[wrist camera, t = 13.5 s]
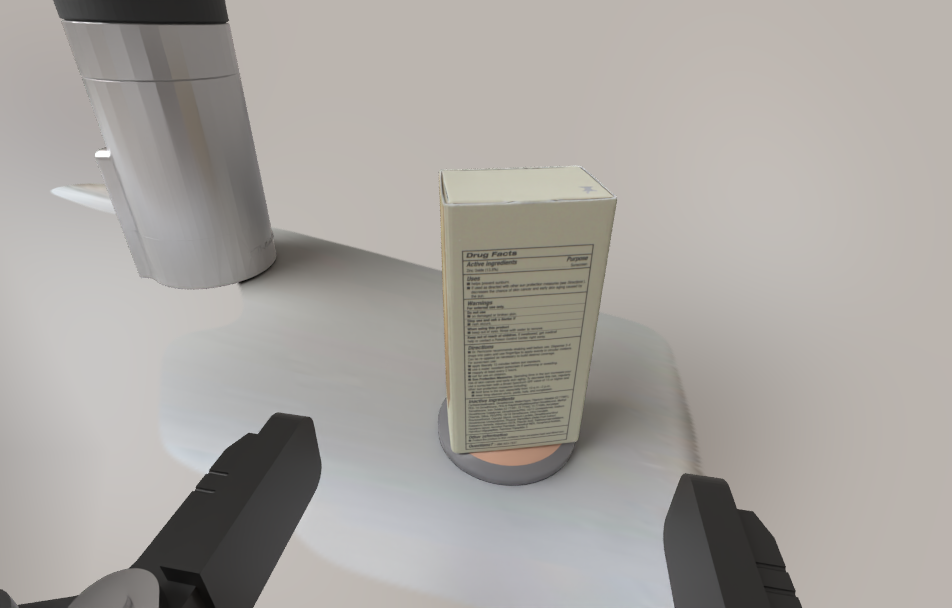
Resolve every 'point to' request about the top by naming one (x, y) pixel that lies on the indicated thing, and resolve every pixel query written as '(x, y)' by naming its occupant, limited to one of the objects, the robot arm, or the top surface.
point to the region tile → (506, 459)
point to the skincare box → (520, 301)
